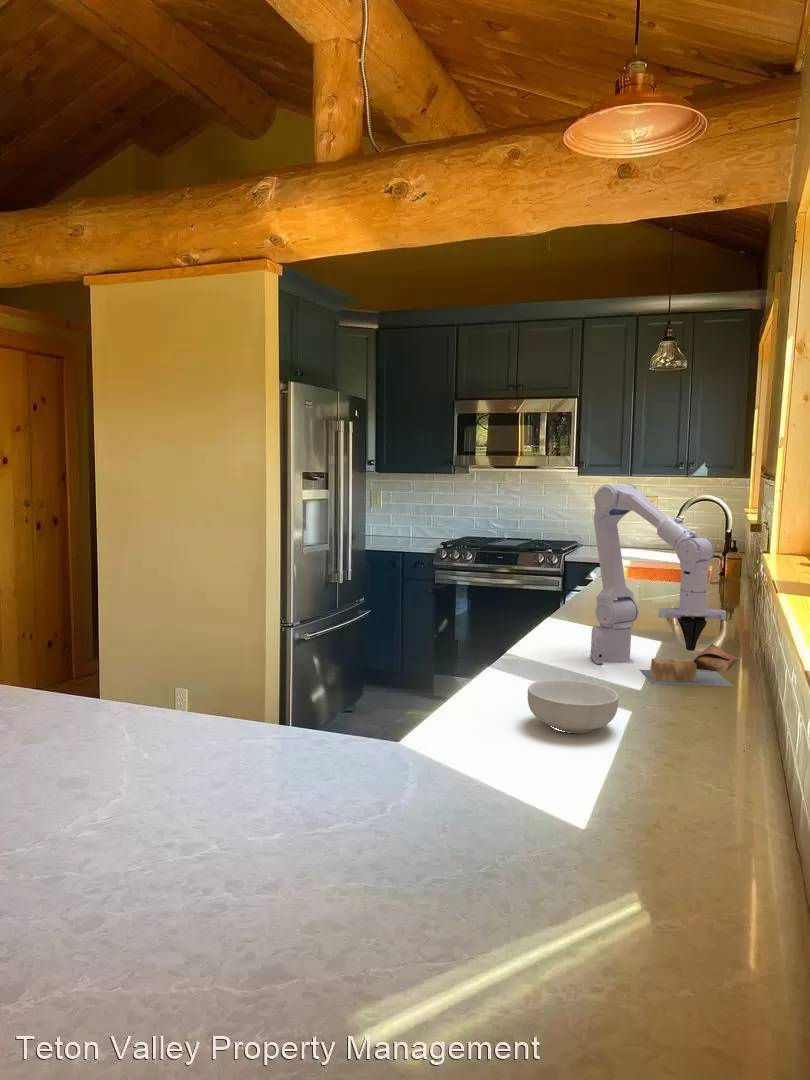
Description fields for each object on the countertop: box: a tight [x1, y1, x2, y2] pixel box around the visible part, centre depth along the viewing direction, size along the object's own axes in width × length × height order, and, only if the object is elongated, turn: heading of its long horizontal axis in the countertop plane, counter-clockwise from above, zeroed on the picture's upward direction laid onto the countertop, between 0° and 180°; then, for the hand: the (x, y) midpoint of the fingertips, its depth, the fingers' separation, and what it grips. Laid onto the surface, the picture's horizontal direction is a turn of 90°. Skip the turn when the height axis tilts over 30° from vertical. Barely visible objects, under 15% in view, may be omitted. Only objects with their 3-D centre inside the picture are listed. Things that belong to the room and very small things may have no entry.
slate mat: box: [639, 669, 734, 687], centre depth 184 cm, size 18×12×1 cm, turn 87°
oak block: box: [650, 658, 697, 681], centre depth 183 cm, size 4×4×9 cm
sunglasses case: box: [692, 643, 740, 672], centre depth 198 cm, size 18×7×7 cm, turn 149°
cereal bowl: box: [527, 679, 620, 735], centre depth 150 cm, size 17×17×7 cm
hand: (690, 649), depth 182 cm, fingers closed
